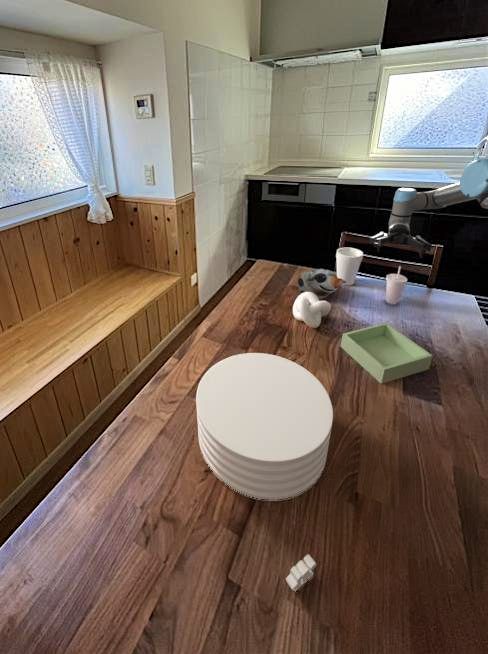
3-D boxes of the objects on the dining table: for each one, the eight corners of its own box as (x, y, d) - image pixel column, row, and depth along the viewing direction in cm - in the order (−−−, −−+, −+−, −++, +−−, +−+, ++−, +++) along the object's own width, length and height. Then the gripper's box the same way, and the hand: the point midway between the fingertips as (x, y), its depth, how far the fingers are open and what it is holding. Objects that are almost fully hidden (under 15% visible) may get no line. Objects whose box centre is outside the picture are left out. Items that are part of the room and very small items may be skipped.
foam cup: (334, 286, 133) (338, 256, 127) (331, 275, 141) (334, 247, 135) (360, 288, 130) (365, 257, 125) (355, 276, 138) (360, 248, 133)
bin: (428, 369, 91) (433, 355, 89) (381, 383, 87) (384, 369, 85) (383, 335, 104) (386, 322, 102) (340, 346, 101) (342, 333, 99)
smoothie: (405, 302, 120) (414, 267, 114) (395, 308, 117) (403, 272, 111) (387, 294, 125) (395, 261, 119) (377, 300, 122) (384, 266, 116)
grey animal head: (332, 284, 134) (349, 263, 123) (332, 309, 126) (351, 289, 116) (295, 273, 135) (309, 251, 124) (294, 297, 127) (309, 277, 116)
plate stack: (191, 492, 65) (187, 453, 61) (204, 383, 91) (202, 350, 86) (342, 509, 61) (351, 469, 57) (312, 390, 86) (316, 355, 82)
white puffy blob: (322, 310, 118) (325, 288, 115) (335, 331, 108) (338, 307, 104) (290, 311, 119) (291, 289, 115) (299, 332, 108) (301, 308, 104)
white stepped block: (307, 566, 54) (309, 551, 52) (314, 576, 53) (317, 561, 51) (284, 587, 52) (286, 572, 50) (291, 598, 51) (293, 583, 49)
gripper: (433, 244, 135) (438, 267, 118) (364, 236, 146) (360, 255, 129) (438, 227, 131) (444, 247, 115) (366, 220, 143) (363, 237, 126)
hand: (399, 252), depth 122 cm, fingers open, 13 cm apart
